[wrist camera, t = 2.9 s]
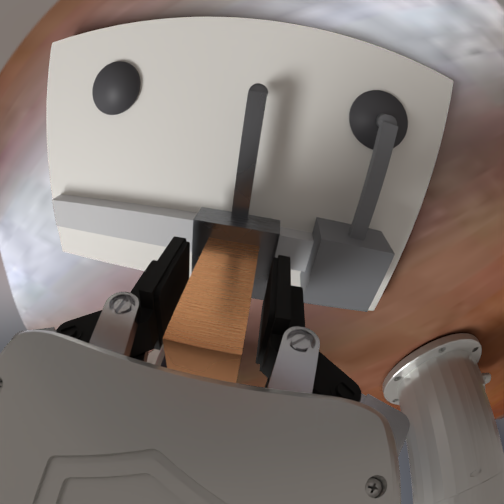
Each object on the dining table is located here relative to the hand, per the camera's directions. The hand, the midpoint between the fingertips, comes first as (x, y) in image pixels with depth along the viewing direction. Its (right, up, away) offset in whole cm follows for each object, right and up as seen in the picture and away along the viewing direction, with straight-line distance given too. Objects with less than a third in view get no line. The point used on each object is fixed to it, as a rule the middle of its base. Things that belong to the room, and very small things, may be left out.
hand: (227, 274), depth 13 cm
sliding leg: (+1, +4, +1) cm, 4 cm away
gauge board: (-1, +6, +2) cm, 7 cm away
